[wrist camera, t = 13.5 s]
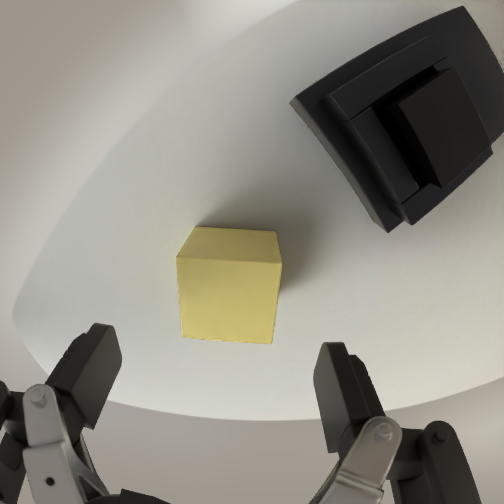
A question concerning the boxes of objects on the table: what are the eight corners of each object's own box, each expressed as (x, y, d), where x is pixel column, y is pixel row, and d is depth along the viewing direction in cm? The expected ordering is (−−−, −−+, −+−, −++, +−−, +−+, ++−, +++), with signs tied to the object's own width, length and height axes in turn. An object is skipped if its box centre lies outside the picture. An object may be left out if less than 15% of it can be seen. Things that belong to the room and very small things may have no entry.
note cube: (196, 295, 17) (182, 337, 13) (194, 226, 15) (175, 256, 11) (268, 300, 17) (271, 344, 13) (275, 231, 15) (282, 263, 11)
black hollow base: (373, 221, 15) (405, 249, 11) (288, 102, 12) (301, 89, 9) (502, 112, 11) (541, 116, 8) (447, 12, 9) (482, -3, 5)
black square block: (417, 179, 10) (443, 189, 8) (375, 107, 9) (398, 104, 7) (464, 140, 9) (492, 145, 7) (428, 72, 8) (454, 66, 6)
